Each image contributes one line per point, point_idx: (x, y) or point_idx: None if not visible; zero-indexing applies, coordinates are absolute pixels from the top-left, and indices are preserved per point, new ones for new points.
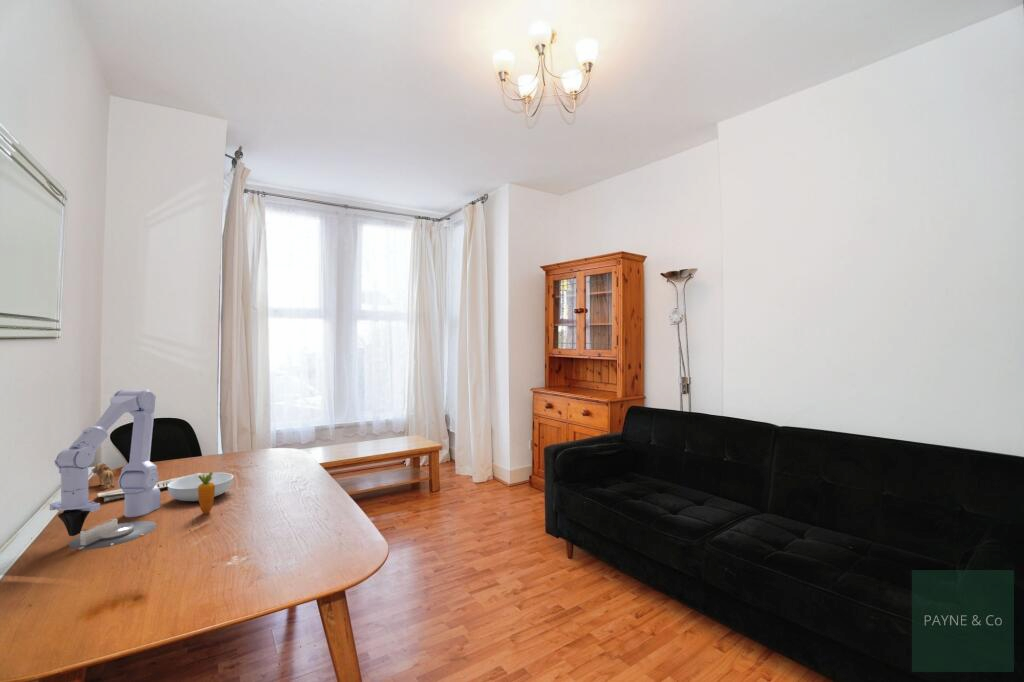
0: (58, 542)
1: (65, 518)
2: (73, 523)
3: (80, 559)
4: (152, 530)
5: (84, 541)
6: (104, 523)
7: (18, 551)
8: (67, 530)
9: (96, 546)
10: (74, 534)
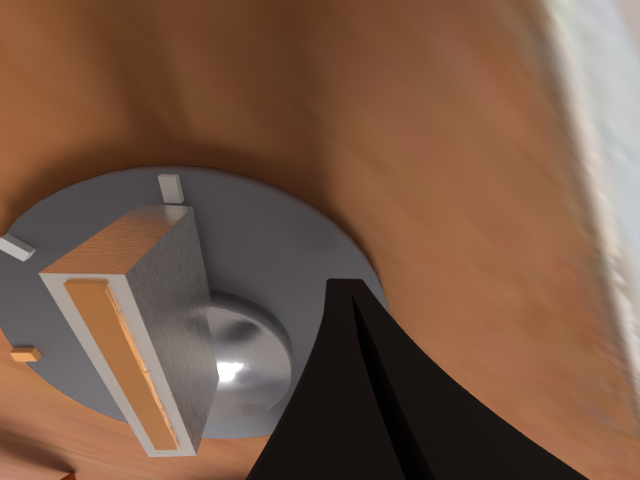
0: (464, 276)
1: (419, 448)
2: (305, 372)
3: (16, 53)
4: (58, 389)
5: (135, 216)
6: (128, 407)
7: (624, 164)
8: (376, 304)
9: (101, 220)
10: (325, 291)
